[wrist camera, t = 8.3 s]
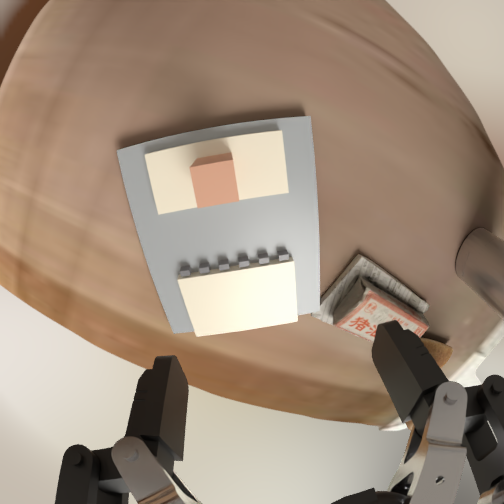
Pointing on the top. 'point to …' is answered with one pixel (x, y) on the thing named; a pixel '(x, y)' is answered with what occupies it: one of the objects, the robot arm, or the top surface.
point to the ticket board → (232, 240)
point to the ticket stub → (218, 171)
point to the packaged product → (370, 301)
